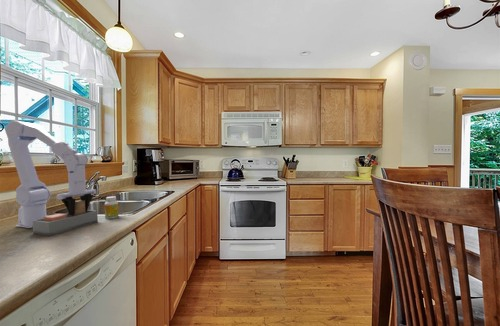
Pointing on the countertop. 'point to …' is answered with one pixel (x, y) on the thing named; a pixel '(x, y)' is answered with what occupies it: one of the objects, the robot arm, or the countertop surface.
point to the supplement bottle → (111, 208)
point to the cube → (55, 217)
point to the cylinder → (79, 207)
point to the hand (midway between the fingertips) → (78, 213)
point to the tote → (64, 223)
